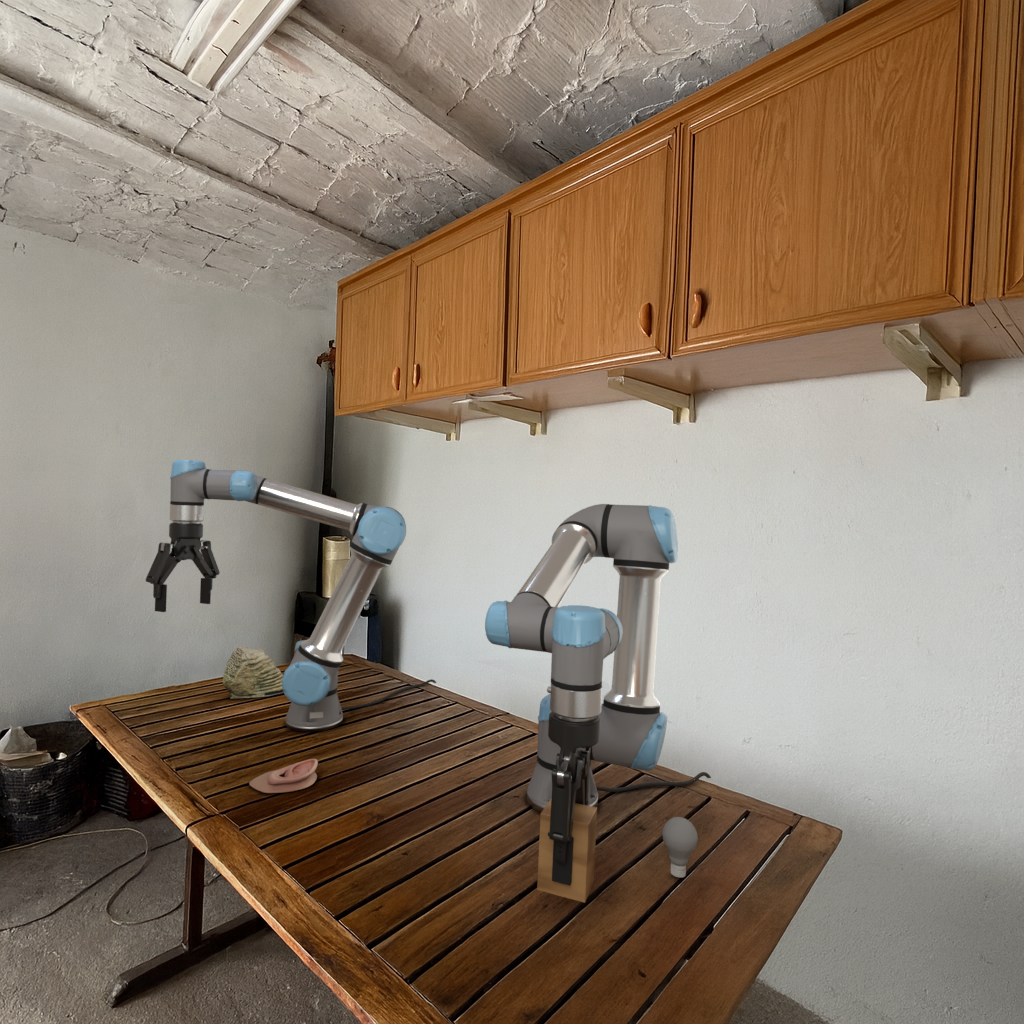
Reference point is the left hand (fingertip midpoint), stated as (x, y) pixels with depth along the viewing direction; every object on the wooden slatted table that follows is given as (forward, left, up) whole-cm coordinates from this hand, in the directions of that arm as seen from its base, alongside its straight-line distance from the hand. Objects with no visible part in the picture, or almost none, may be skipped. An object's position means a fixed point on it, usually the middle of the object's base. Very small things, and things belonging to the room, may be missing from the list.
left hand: (183, 607), depth 158 cm
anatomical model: (-6, +38, -34) cm, 51 cm away
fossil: (-33, -23, -34) cm, 52 cm away
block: (-6, +112, -26) cm, 115 cm away
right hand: (-6, +112, -24) cm, 115 cm away
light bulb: (-33, +118, -34) cm, 127 cm away
